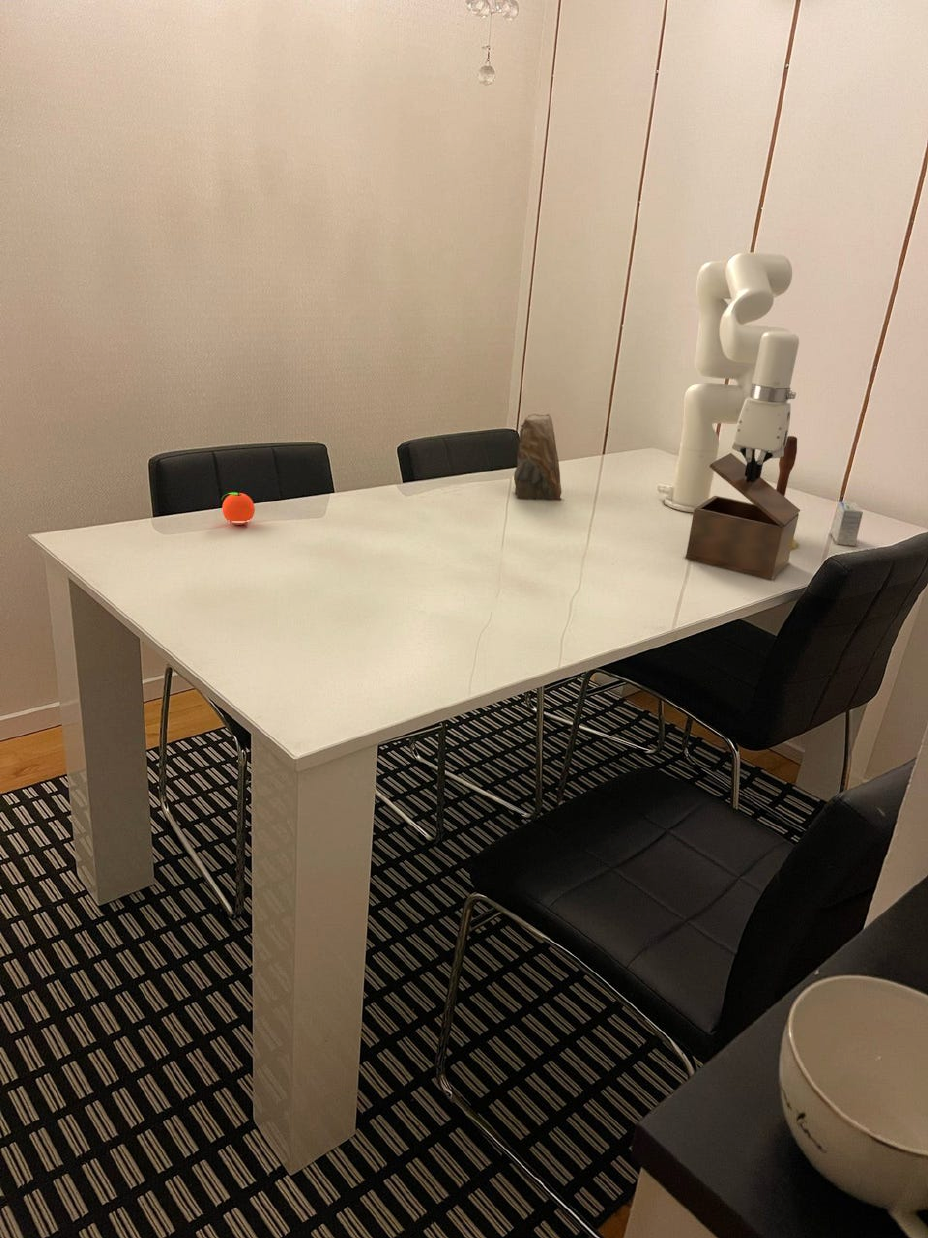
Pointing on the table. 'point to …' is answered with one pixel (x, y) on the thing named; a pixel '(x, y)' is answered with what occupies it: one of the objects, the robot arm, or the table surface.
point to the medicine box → (847, 523)
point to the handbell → (787, 467)
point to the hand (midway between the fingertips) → (751, 480)
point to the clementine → (238, 508)
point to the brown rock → (537, 460)
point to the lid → (755, 490)
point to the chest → (739, 538)
